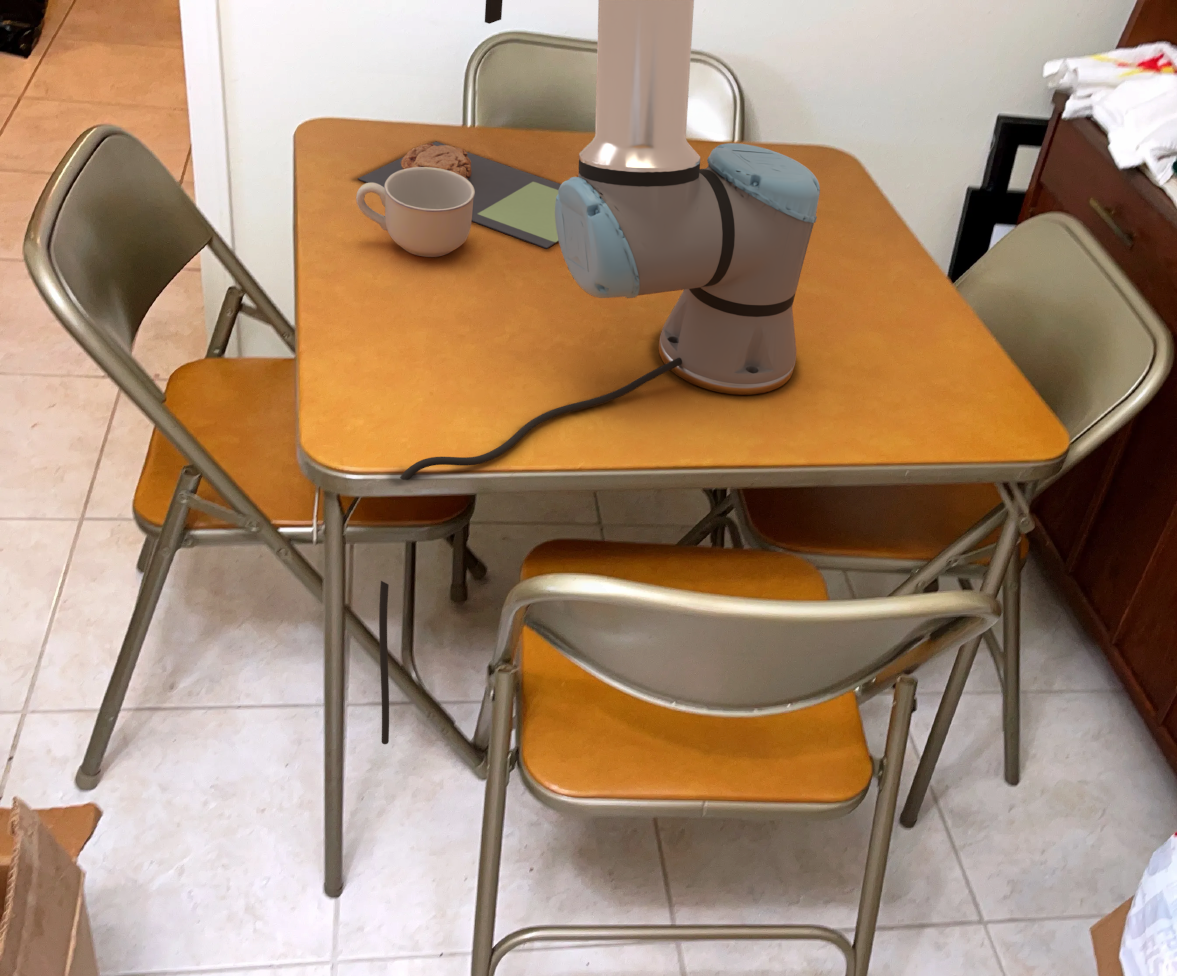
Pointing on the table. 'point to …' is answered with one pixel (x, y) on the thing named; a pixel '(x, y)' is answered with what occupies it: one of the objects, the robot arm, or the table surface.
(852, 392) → the table surface
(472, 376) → the table surface
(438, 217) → the teacup
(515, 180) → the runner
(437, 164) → the cookie
